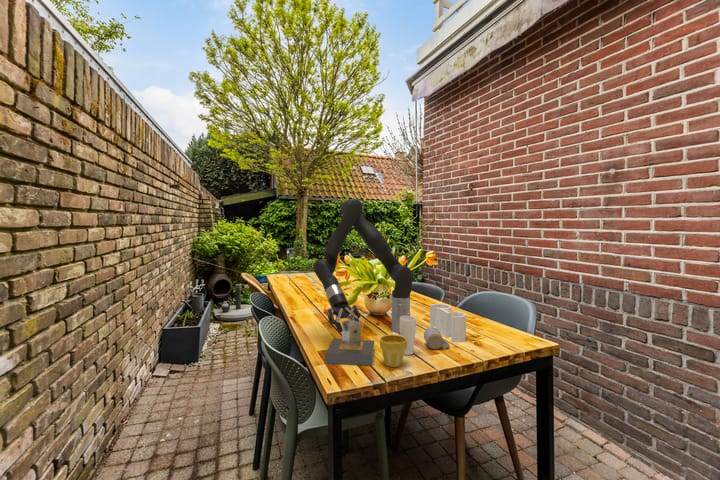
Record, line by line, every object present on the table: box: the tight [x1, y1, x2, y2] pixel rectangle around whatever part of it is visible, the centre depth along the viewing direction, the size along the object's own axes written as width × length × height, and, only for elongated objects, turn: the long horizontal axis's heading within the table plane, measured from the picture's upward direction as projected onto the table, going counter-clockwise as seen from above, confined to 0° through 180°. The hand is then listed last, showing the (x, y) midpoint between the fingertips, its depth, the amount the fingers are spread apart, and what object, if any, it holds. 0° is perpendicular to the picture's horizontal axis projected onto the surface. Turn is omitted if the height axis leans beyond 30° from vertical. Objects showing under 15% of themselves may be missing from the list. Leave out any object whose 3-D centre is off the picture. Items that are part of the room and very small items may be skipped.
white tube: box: [399, 315, 417, 356], centre depth 133 cm, size 7×7×15 cm
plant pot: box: [379, 334, 407, 368], centre depth 123 cm, size 10×10×10 cm
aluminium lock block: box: [341, 319, 362, 349], centre depth 131 cm, size 6×6×10 cm
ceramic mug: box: [423, 326, 450, 350], centre depth 141 cm, size 11×8×8 cm
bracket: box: [429, 303, 467, 343], centre depth 159 cm, size 25×10×12 cm, turn 13°
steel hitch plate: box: [324, 338, 375, 367], centre depth 130 cm, size 18×16×4 cm
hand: (350, 330), depth 132 cm, fingers open, 8 cm apart
